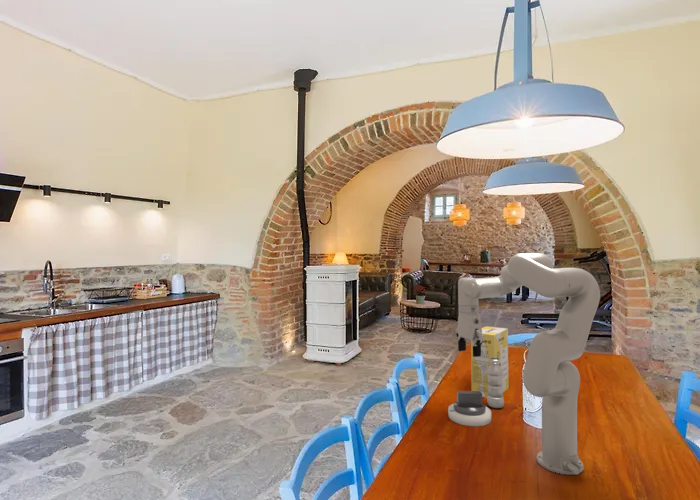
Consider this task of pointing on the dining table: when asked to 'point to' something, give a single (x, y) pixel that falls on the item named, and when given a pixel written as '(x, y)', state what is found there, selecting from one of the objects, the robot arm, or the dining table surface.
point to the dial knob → (469, 403)
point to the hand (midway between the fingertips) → (469, 353)
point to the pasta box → (491, 348)
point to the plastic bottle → (495, 384)
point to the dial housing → (469, 417)
